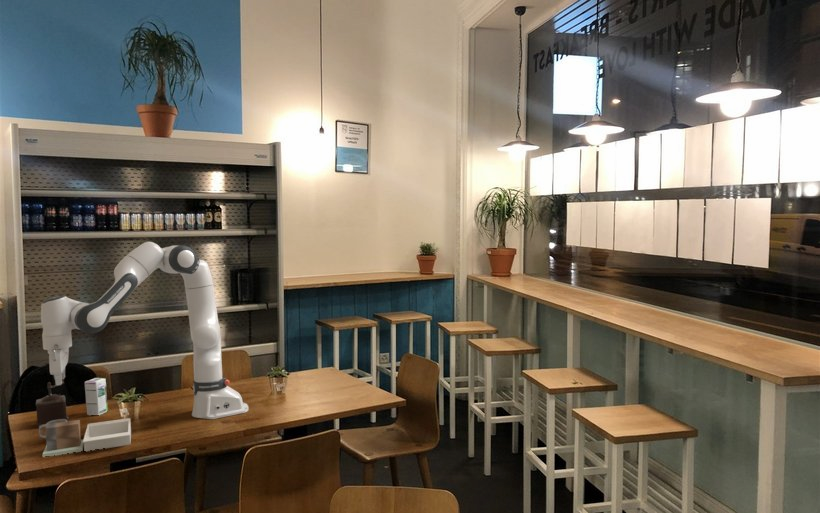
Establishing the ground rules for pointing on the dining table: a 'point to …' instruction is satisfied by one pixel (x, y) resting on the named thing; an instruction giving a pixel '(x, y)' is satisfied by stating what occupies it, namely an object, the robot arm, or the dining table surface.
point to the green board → (63, 450)
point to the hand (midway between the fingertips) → (60, 381)
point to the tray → (107, 434)
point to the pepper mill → (51, 407)
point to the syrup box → (96, 396)
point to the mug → (46, 426)
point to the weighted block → (63, 435)
